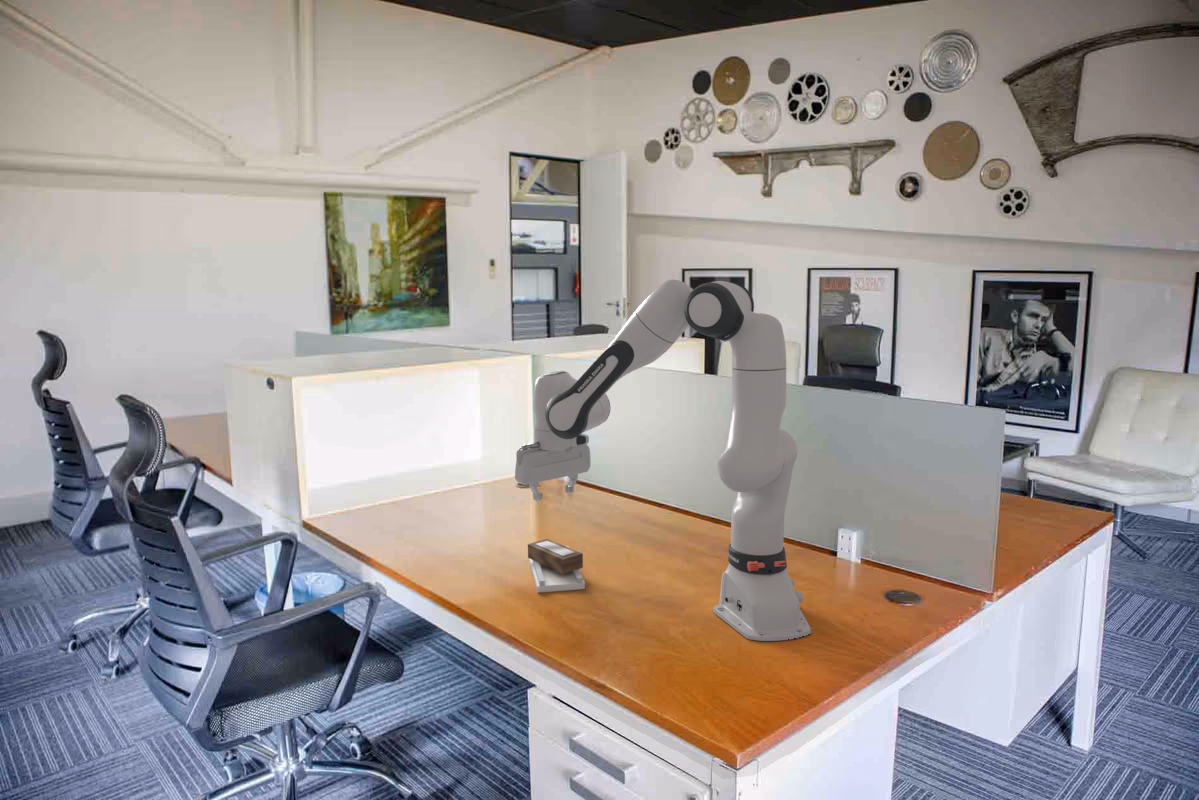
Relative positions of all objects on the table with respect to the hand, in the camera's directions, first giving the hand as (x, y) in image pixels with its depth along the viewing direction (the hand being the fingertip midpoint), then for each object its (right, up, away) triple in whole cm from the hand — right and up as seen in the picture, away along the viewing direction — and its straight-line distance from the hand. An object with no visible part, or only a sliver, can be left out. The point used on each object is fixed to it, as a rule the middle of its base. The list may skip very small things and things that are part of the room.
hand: (553, 496), depth 196 cm
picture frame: (0, -16, +3) cm, 17 cm away
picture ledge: (0, -19, +3) cm, 19 cm away
